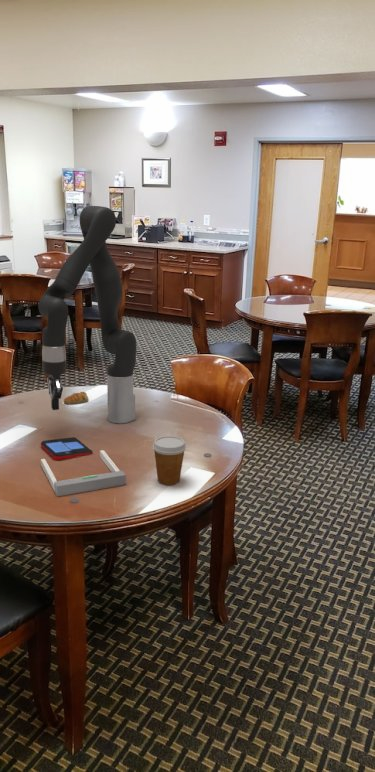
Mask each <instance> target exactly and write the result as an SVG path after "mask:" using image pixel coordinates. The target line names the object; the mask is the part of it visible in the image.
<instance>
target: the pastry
mask: <svg viewBox="0 0 375 772" xmlns="http://www.w3.org/2000/svg"><path fill="white" fill-rule="evenodd" d="M89 401H90V400H89V397H88V395H87V393H86V392H85V391H80V392H74V393H72V394H70V395H68V396H66V397H64V399H63V403H64V404H66V405H68V406H69V405H71V406H72V405H81V404H86V403H88V402H89Z"/></svg>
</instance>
